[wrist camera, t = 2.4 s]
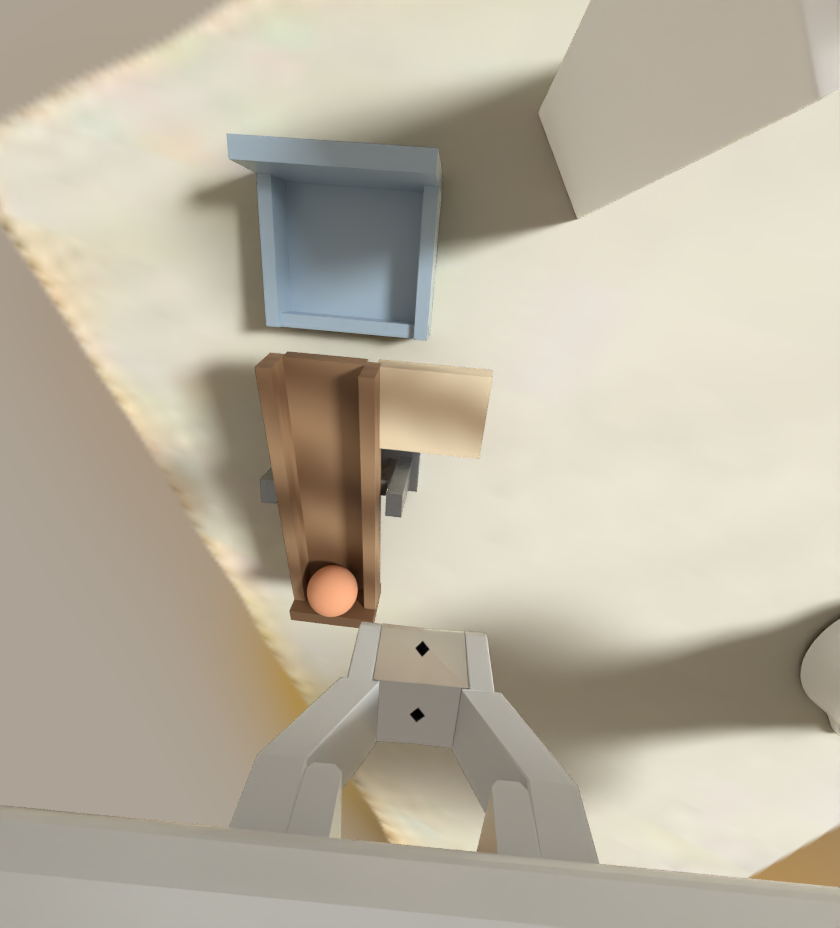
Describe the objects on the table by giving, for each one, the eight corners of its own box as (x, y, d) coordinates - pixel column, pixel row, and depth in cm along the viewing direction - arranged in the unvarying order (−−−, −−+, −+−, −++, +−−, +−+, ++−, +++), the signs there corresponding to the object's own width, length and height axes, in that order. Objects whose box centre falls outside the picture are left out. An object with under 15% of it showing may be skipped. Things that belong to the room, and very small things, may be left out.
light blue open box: (443, 176, 25) (438, 147, 20) (429, 334, 29) (422, 348, 23) (276, 164, 26) (226, 133, 20) (284, 321, 29) (243, 331, 24)
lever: (454, 590, 34) (452, 639, 31) (307, 572, 35) (288, 619, 31) (491, 363, 23) (494, 399, 20) (276, 343, 24) (241, 374, 20)
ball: (362, 557, 31) (350, 595, 28) (362, 591, 33) (351, 630, 30) (314, 552, 31) (297, 589, 28) (317, 586, 33) (302, 624, 30)
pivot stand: (417, 488, 34) (407, 534, 27) (292, 474, 34) (255, 517, 28) (421, 440, 32) (411, 478, 26) (289, 426, 32) (250, 460, 26)
